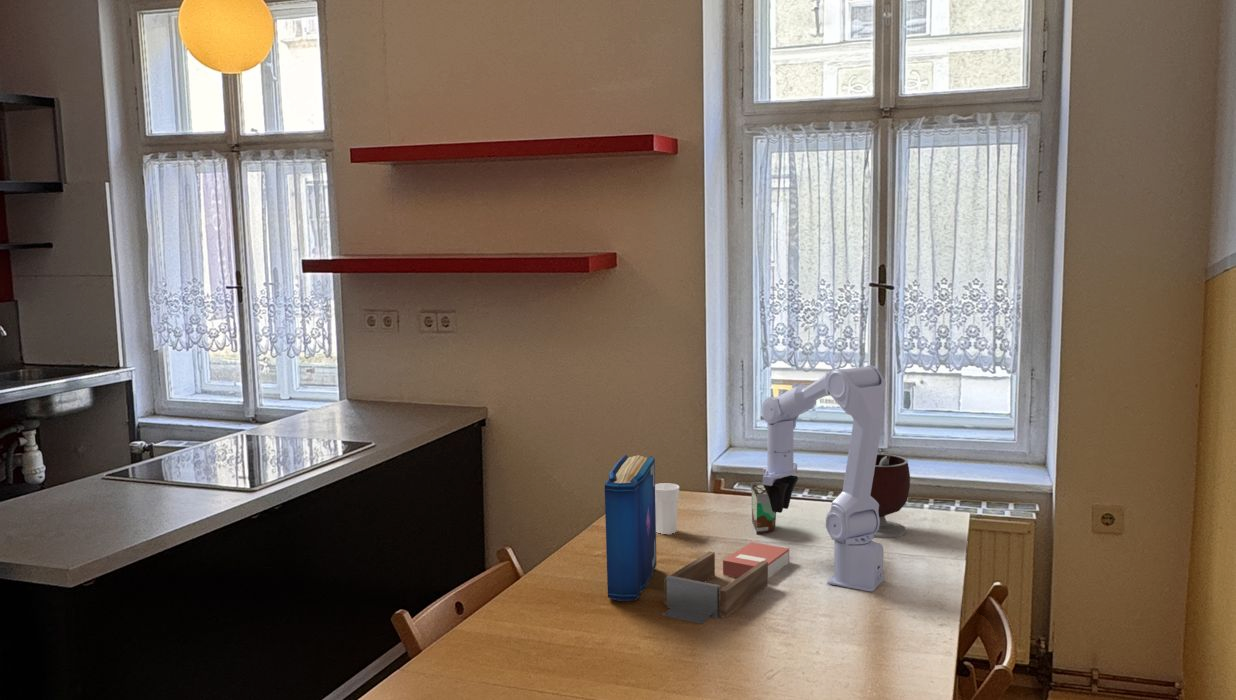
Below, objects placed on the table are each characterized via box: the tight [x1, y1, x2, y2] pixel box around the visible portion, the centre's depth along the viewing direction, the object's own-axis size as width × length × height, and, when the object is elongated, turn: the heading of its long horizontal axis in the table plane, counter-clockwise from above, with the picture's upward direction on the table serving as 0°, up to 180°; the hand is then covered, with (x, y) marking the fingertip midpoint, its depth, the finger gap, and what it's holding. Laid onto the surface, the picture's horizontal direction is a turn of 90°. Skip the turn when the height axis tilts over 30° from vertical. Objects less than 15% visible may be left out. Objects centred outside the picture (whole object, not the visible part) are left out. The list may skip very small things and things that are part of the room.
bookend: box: [662, 574, 721, 625], centre depth 186 cm, size 11×5×6 cm, turn 57°
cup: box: [655, 482, 680, 535], centre depth 237 cm, size 7×7×11 cm
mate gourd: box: [870, 453, 911, 539], centre depth 234 cm, size 16×14×20 cm
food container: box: [750, 481, 777, 535], centre depth 238 cm, size 12×6×10 cm, turn 179°
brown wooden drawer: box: [663, 551, 769, 618], centre depth 196 cm, size 13×19×5 cm
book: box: [604, 454, 657, 602], centre depth 201 cm, size 22×7×25 cm, turn 168°
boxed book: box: [722, 541, 790, 579], centre depth 211 cm, size 9×14×4 cm, turn 148°
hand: (780, 509), depth 221 cm, fingers open, 3 cm apart
